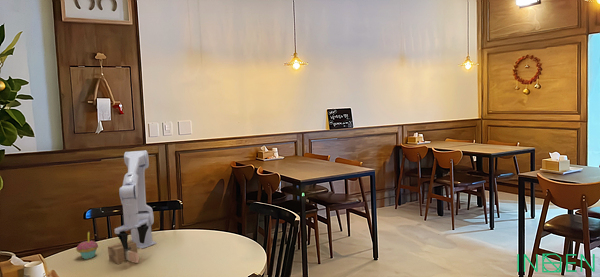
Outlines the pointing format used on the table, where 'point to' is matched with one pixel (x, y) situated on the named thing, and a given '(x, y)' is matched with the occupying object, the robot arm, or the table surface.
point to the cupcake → (87, 248)
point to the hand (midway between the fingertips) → (134, 245)
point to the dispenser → (120, 251)
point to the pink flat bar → (131, 256)
